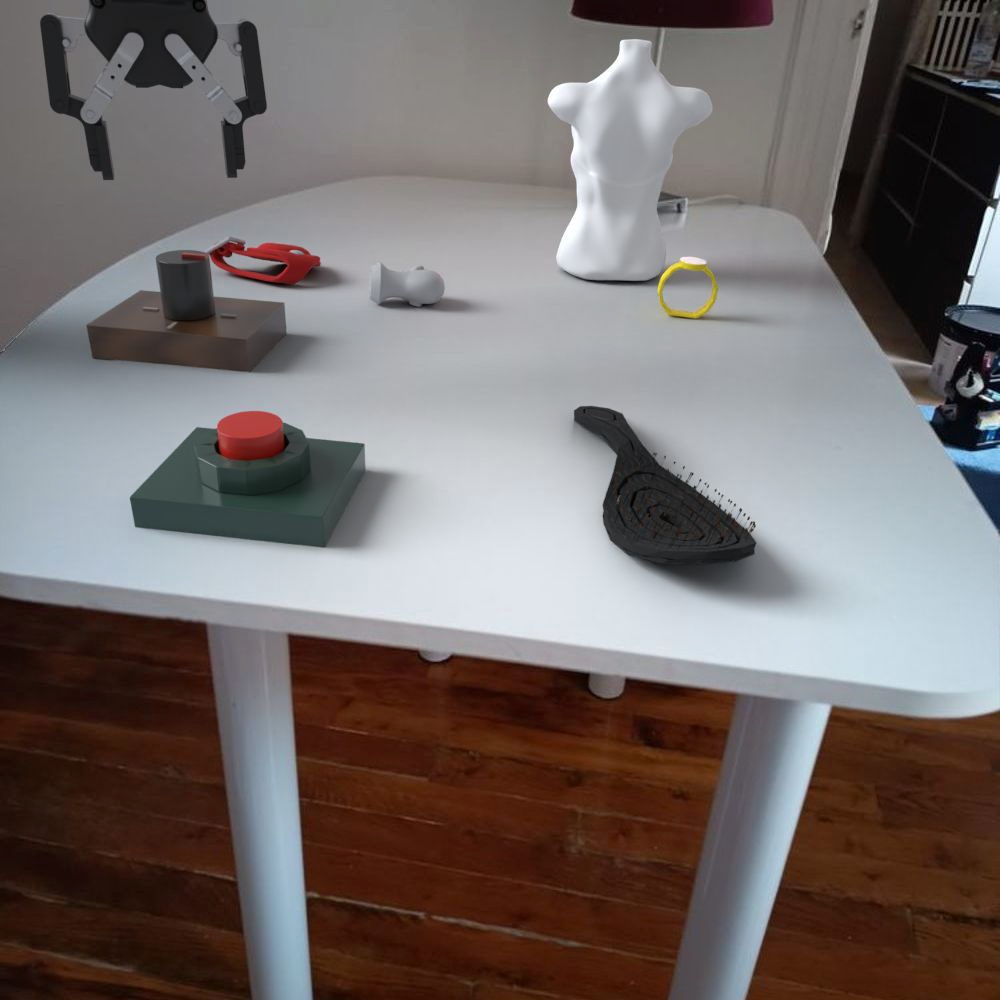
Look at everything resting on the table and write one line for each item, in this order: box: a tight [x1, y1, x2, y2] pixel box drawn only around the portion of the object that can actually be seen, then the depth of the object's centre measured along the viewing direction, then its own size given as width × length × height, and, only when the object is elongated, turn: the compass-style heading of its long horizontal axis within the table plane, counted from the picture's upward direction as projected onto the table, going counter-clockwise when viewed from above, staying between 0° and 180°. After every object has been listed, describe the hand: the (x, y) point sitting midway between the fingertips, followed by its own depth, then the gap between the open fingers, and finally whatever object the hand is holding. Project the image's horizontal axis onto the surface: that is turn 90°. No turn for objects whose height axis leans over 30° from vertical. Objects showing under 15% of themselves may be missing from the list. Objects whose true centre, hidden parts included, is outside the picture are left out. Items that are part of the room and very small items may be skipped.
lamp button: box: [216, 410, 285, 461], centre depth 58 cm, size 4×4×2 cm
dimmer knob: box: [155, 249, 215, 321], centre depth 80 cm, size 4×4×5 cm
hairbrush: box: [573, 405, 757, 565], centre depth 62 cm, size 8×4×25 cm
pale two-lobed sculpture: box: [368, 261, 446, 308], centre depth 95 cm, size 4×8×5 cm
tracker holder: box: [203, 236, 322, 285], centre depth 101 cm, size 12×4×10 cm
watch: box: [657, 256, 719, 320], centre depth 95 cm, size 6×3×6 cm, turn 86°
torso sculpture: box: [547, 38, 714, 282], centre depth 103 cm, size 18×10×25 cm, turn 95°
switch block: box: [129, 421, 366, 548], centre depth 59 cm, size 12×10×4 cm
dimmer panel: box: [86, 289, 287, 373], centre depth 82 cm, size 14×10×3 cm
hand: (171, 177), depth 67 cm, fingers open, 8 cm apart
